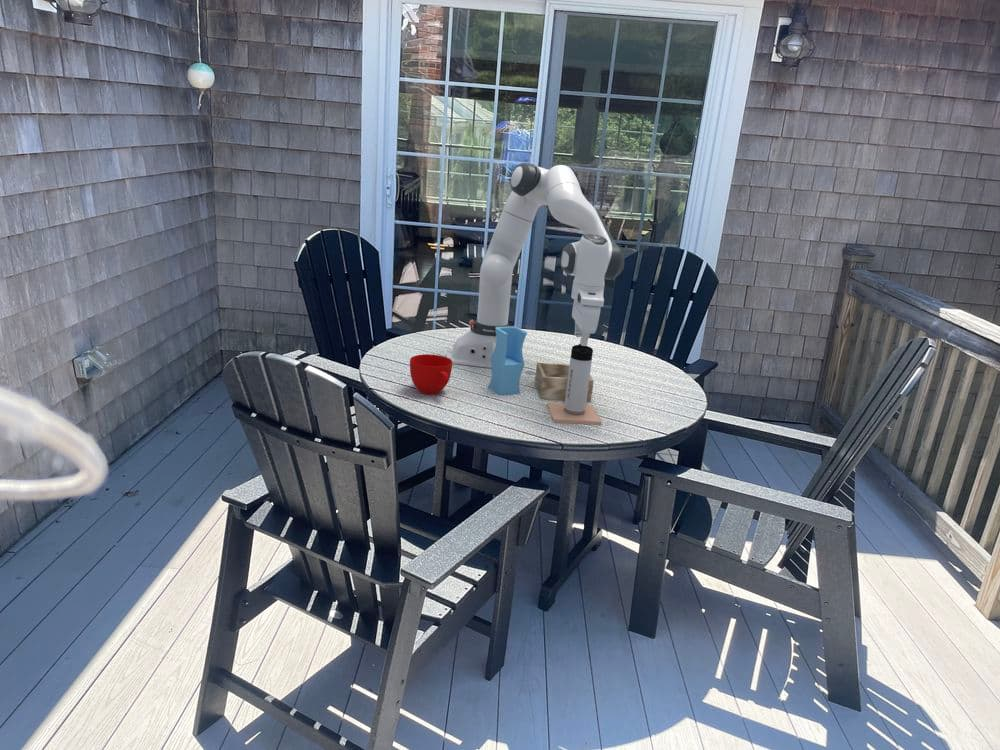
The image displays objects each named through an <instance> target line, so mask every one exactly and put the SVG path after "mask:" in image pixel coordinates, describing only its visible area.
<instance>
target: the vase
mask: <svg viewBox="0 0 1000 750" xmlns="http://www.w3.org/2000/svg"><path fill="white" fill-rule="evenodd" d="M495 329H496V347H495V350H494V352H493V354H492V356H491V360H490V361H491V368H490V369H491V377H490V381H489V384H488V385H487V386H488V388H489V389H490V390H492V391H493V392H494V393H495V394H497V395H501V396H504V395H505V396H507V395H516V394H520V380H521V376H522V373H523V370H524V368H525V361H524V356H523V347H524V342H525V339H526V337H527V335H528V332H527V331H526V330H524V329H521V328H520V327H518V326H515V325H514V326H513V325H512V326H510V325H509V327H496V328H495Z"/></svg>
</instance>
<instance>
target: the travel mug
mask: <svg viewBox="0 0 1000 750" xmlns="http://www.w3.org/2000/svg"><path fill="white" fill-rule="evenodd" d="M593 353H594V349H593V348H592V347H590V346H589V345H587V346H582V345H581V344H580V343H578V344H575V345H573V346H572V347H571V352H570V359H569V373H568V381H567V389H566V397H565V400H564V403H565V405H564V411H565V412H566V413H569V414H572V415H582V414H584V413H585V407H586V405H587V401H586V400H587V393H588V385H589V378H590V375H591V369H592V362H593Z"/></svg>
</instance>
